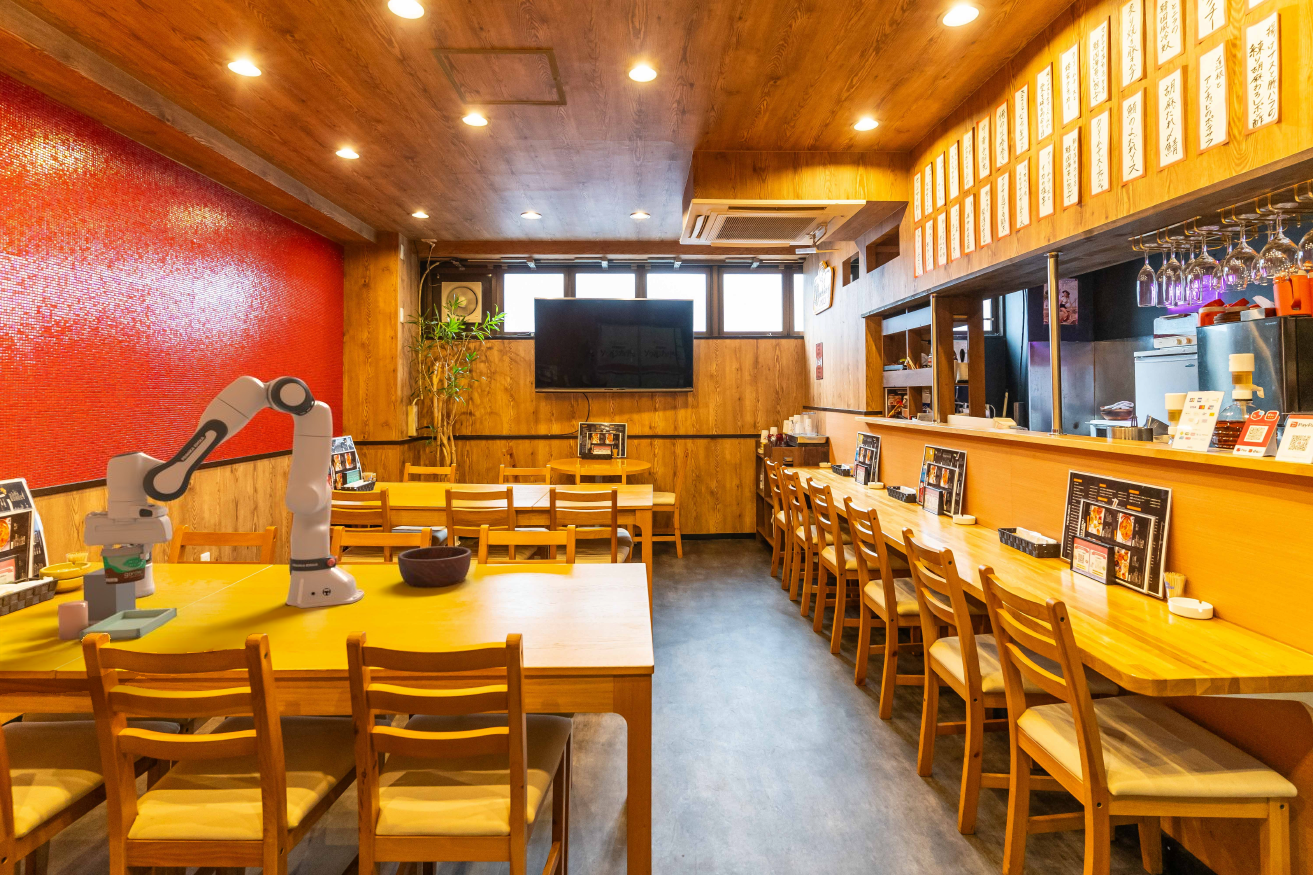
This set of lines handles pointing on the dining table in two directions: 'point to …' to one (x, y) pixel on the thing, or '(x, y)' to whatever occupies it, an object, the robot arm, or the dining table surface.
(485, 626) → the dining table surface
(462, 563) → the wooden bowl
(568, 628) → the dining table surface
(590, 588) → the dining table surface
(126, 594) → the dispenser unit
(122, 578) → the food container
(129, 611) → the tray
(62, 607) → the canister
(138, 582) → the vodka
